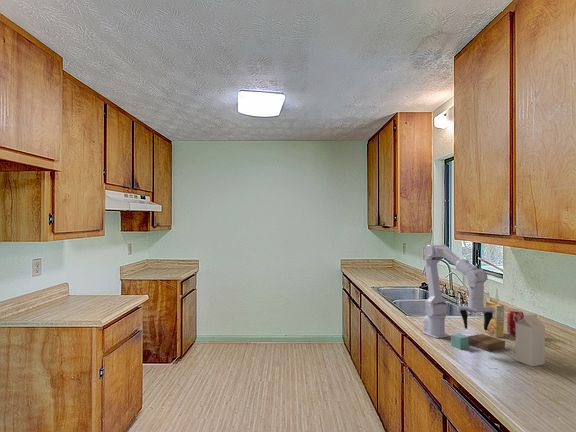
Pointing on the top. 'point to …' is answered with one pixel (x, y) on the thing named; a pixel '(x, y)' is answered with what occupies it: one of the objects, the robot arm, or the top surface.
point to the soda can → (513, 320)
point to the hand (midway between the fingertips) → (475, 328)
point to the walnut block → (486, 342)
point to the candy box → (496, 320)
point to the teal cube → (459, 341)
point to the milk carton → (530, 341)
